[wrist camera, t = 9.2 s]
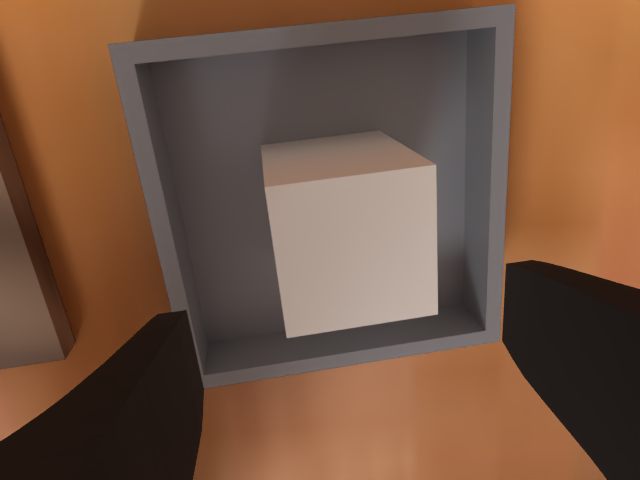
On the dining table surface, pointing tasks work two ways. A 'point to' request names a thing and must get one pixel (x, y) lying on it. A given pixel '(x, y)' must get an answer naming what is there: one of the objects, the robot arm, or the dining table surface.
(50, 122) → the dining table surface
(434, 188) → the block
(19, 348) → the stud block
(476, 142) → the bin
